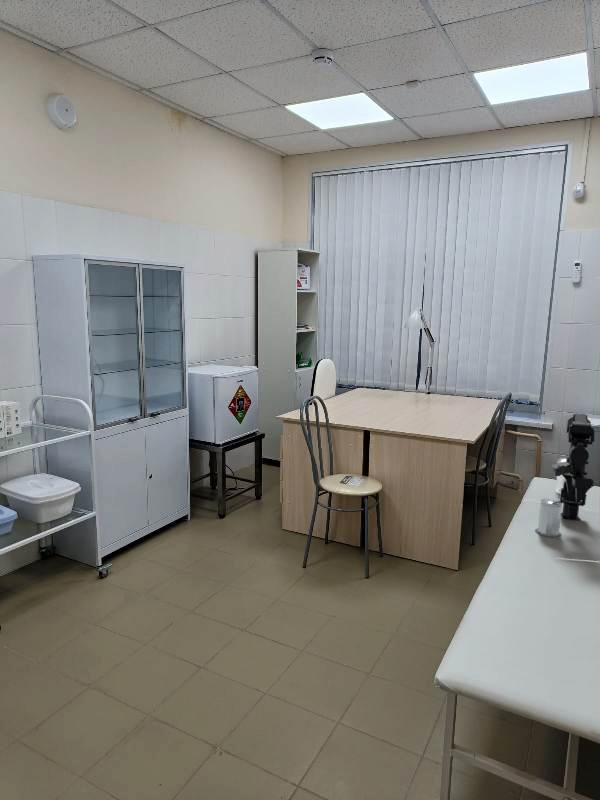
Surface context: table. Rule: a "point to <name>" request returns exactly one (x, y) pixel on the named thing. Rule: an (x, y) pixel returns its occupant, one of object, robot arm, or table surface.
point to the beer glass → (560, 478)
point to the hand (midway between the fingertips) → (573, 497)
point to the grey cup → (549, 517)
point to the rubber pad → (547, 536)
